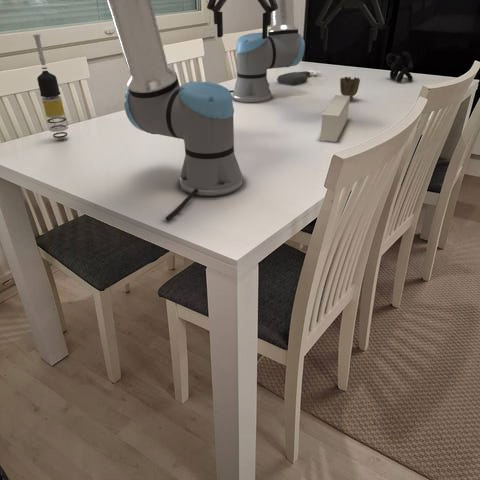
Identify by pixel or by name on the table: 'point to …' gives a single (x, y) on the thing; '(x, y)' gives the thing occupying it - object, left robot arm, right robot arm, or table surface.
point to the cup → (349, 86)
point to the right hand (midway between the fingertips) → (346, 51)
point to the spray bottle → (295, 77)
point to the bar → (334, 118)
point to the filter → (50, 95)
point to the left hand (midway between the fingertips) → (242, 37)
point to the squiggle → (399, 66)
